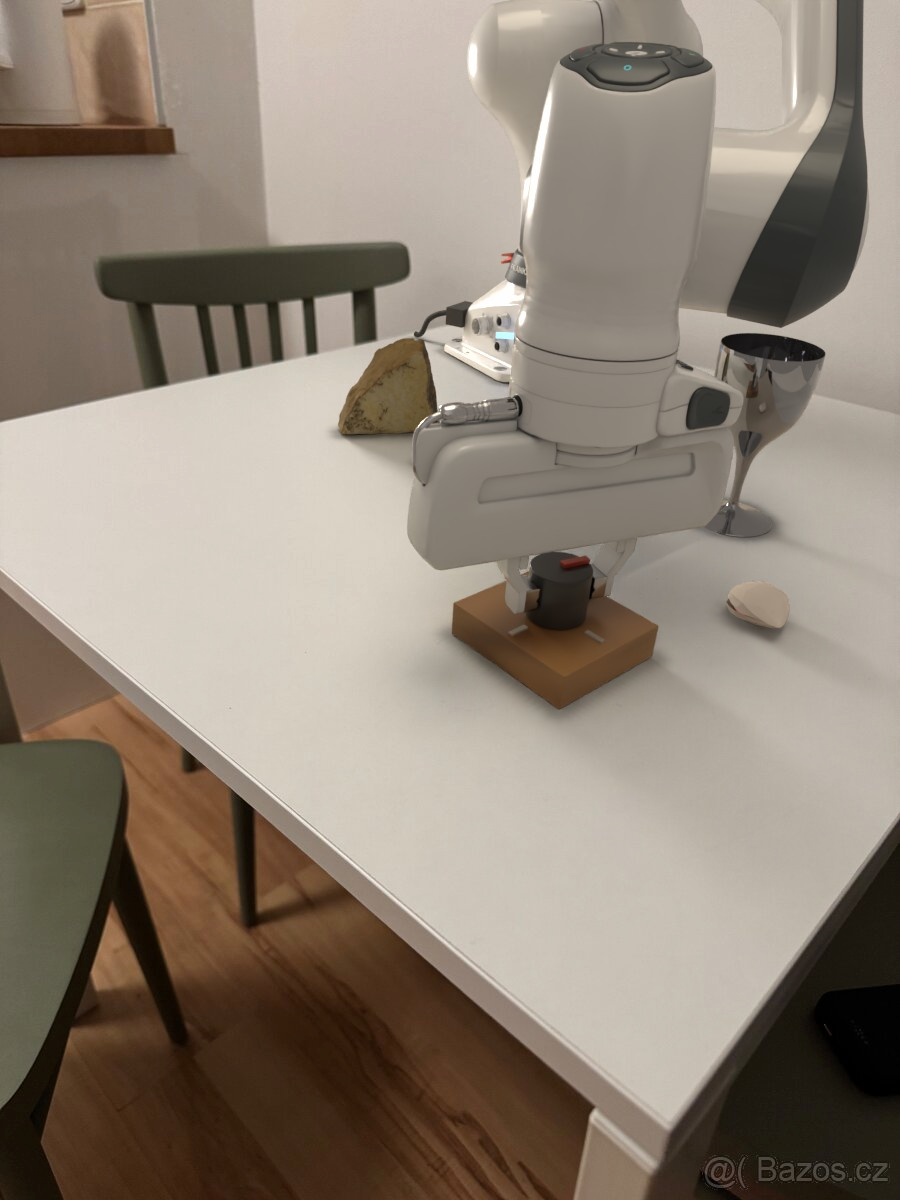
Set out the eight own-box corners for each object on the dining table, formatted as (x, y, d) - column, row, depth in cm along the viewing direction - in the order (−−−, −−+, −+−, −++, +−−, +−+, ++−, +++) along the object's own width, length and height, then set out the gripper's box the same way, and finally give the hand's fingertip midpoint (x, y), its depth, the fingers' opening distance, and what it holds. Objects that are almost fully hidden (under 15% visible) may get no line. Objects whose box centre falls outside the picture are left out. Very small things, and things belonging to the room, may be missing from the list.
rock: (321, 423, 82) (421, 420, 80) (325, 338, 83) (423, 333, 81) (354, 453, 93) (442, 451, 91) (356, 378, 94) (444, 374, 92)
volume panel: (451, 633, 57) (453, 600, 55) (543, 592, 62) (547, 560, 60) (559, 709, 50) (564, 674, 49) (652, 656, 55) (659, 623, 54)
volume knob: (545, 636, 52) (551, 584, 50) (513, 604, 55) (518, 553, 53) (598, 622, 54) (606, 571, 52) (564, 592, 57) (571, 542, 55)
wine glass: (666, 504, 76) (700, 335, 68) (737, 493, 78) (778, 330, 70) (720, 544, 69) (765, 364, 61) (796, 531, 72) (848, 357, 64)
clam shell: (769, 602, 62) (778, 573, 61) (803, 641, 58) (813, 610, 57) (715, 605, 61) (722, 575, 60) (745, 644, 57) (754, 613, 56)
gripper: (436, 428, 41) (426, 658, 48) (768, 394, 48) (715, 599, 55) (393, 387, 45) (389, 602, 53) (700, 362, 53) (659, 554, 60)
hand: (558, 600), depth 54 cm, fingers closed on volume knob, 4 cm apart
